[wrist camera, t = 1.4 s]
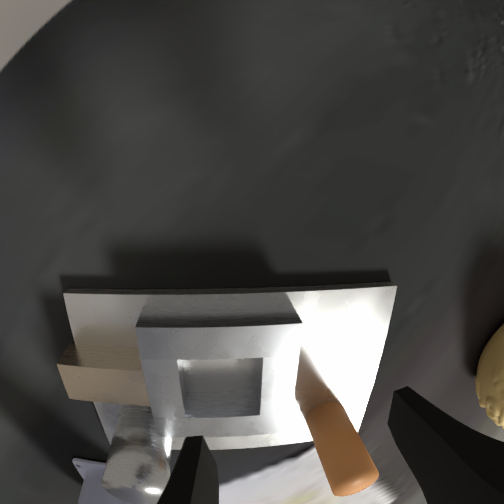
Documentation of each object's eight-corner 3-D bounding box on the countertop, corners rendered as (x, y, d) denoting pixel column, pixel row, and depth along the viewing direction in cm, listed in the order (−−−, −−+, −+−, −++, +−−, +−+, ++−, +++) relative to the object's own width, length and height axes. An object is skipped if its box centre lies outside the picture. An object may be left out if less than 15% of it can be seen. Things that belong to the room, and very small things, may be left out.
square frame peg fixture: (281, 407, 21) (288, 431, 18) (90, 405, 19) (81, 428, 17) (291, 302, 18) (302, 323, 16) (60, 303, 17) (43, 322, 14)
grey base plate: (354, 425, 24) (383, 481, 17) (112, 438, 21) (97, 500, 15) (391, 281, 20) (452, 328, 13) (68, 288, 17) (16, 344, 11)
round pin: (340, 425, 22) (371, 488, 16) (303, 432, 22) (328, 500, 15) (348, 398, 21) (385, 465, 15) (309, 405, 21) (338, 477, 14)
